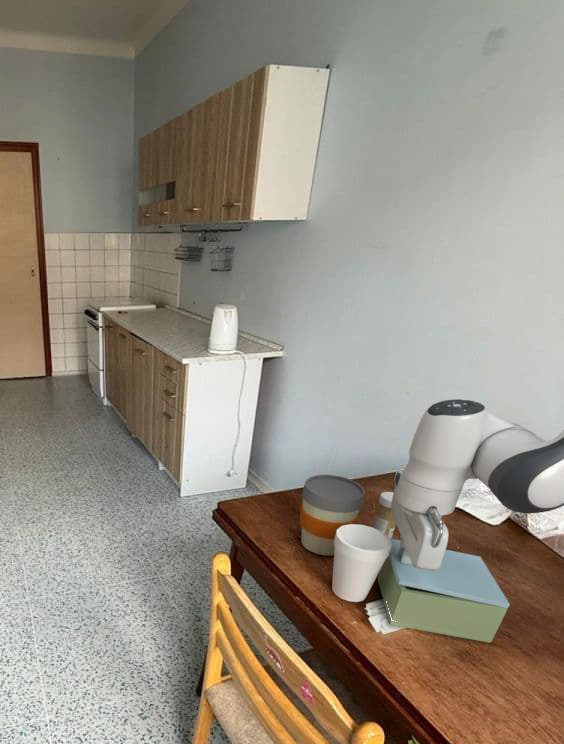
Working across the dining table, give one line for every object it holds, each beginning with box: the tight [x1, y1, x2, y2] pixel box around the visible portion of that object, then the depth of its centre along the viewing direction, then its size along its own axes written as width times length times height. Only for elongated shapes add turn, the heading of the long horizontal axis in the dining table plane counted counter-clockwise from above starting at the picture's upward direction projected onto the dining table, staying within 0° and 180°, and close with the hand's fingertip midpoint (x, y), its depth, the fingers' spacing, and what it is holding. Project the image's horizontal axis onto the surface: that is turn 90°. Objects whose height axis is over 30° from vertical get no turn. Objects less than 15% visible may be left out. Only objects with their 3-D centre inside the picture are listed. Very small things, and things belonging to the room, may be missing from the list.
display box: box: [376, 556, 509, 644], centre depth 88 cm, size 16×14×8 cm
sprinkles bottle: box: [371, 491, 397, 539], centre depth 104 cm, size 5×5×14 cm
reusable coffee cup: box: [299, 474, 366, 557], centre depth 106 cm, size 13×13×15 cm
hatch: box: [389, 538, 511, 608], centre depth 86 cm, size 17×14×1 cm
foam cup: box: [331, 523, 392, 603], centre depth 92 cm, size 10×9×13 cm
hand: (404, 559), depth 87 cm, fingers closed, pressing on hatch
